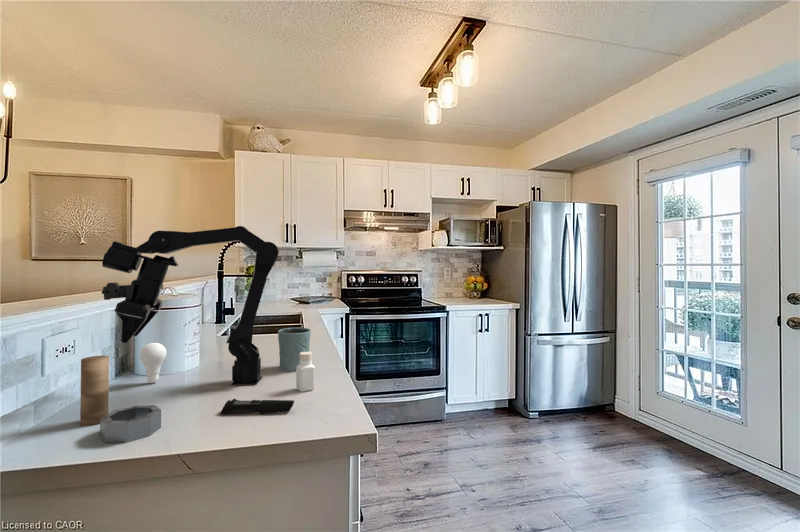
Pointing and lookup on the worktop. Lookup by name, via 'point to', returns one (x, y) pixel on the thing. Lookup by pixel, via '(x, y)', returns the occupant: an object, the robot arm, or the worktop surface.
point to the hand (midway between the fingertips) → (129, 338)
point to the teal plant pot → (292, 346)
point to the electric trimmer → (257, 406)
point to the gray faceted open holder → (130, 423)
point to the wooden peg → (94, 389)
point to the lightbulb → (153, 360)
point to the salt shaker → (305, 373)
